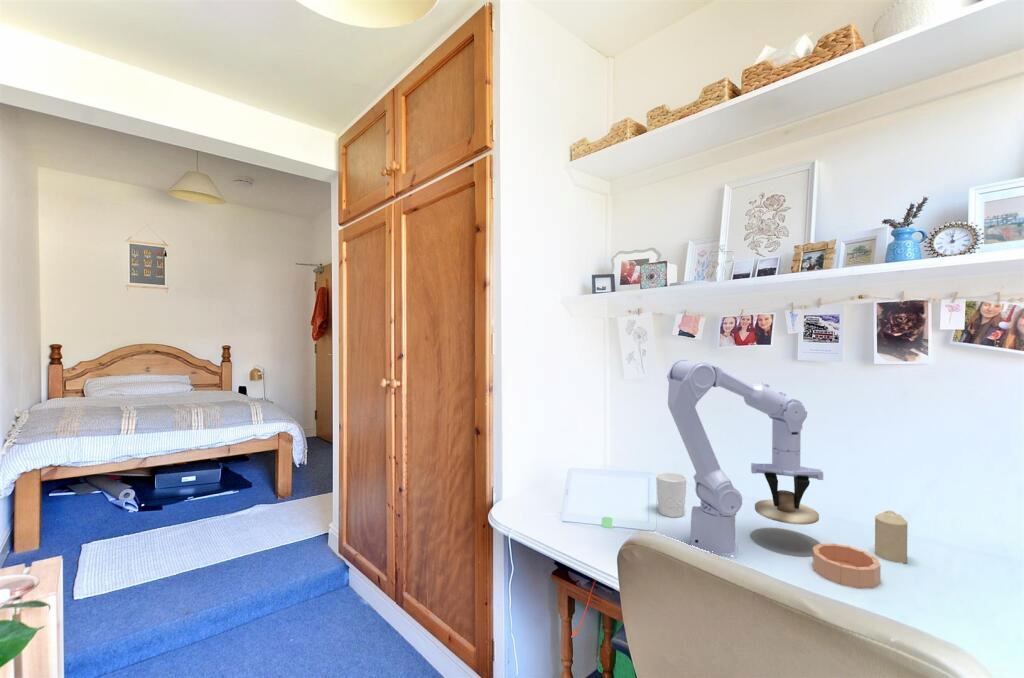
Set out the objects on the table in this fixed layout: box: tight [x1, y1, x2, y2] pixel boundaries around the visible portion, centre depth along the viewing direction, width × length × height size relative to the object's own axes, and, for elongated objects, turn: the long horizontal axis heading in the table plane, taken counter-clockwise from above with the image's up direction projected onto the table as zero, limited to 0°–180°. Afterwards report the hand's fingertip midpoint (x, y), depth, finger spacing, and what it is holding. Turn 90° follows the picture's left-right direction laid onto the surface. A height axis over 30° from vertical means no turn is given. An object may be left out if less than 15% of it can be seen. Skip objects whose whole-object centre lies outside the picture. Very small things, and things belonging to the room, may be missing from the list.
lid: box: [754, 489, 820, 526], centre depth 110 cm, size 13×13×5 cm
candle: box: [874, 510, 908, 565], centre depth 103 cm, size 6×6×10 cm
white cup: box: [655, 471, 687, 518], centre depth 129 cm, size 8×8×10 cm
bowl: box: [812, 542, 882, 589], centre depth 96 cm, size 11×11×4 cm
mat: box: [749, 527, 822, 558], centre depth 110 cm, size 15×15×1 cm
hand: (785, 506), depth 110 cm, fingers closed on lid, 4 cm apart
